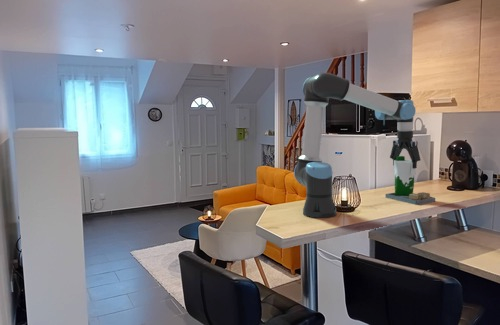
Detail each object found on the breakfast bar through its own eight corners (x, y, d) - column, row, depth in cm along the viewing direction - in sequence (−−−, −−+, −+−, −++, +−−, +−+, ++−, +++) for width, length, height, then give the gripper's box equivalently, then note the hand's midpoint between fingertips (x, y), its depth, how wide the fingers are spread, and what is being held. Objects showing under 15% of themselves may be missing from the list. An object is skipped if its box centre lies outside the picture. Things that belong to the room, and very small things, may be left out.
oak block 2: (424, 202, 188) (424, 194, 187) (417, 200, 191) (417, 193, 191) (429, 201, 189) (429, 193, 189) (423, 199, 193) (423, 192, 193)
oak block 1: (416, 203, 186) (417, 195, 185) (409, 202, 189) (409, 194, 188) (420, 202, 188) (420, 194, 188) (412, 201, 191) (413, 193, 191)
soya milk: (397, 192, 204) (398, 155, 202) (415, 194, 199) (416, 156, 196) (392, 195, 197) (393, 157, 195) (410, 197, 192) (411, 157, 189)
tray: (416, 205, 184) (416, 200, 183) (385, 198, 202) (385, 193, 201) (435, 202, 189) (435, 197, 189) (403, 195, 207) (403, 191, 207)
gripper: (429, 130, 185) (428, 175, 188) (393, 129, 206) (392, 170, 209) (418, 131, 182) (417, 176, 185) (383, 130, 203) (382, 171, 205)
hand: (404, 173), depth 197 cm, fingers closed on soya milk, 10 cm apart
